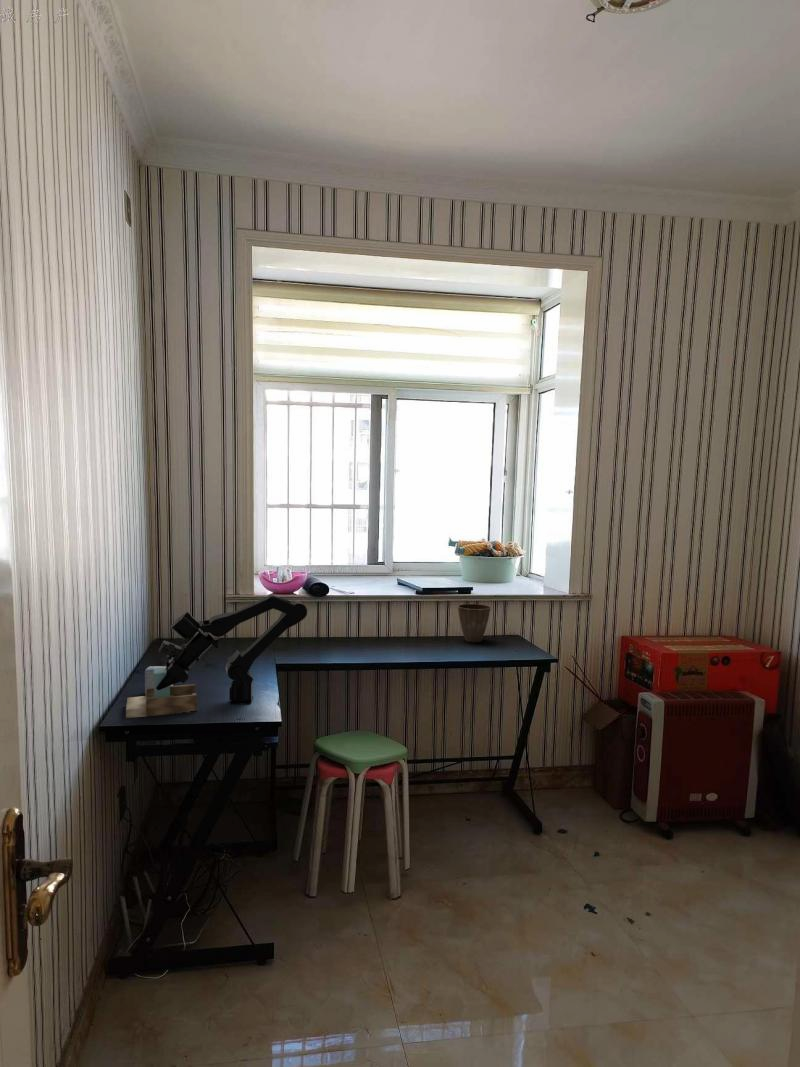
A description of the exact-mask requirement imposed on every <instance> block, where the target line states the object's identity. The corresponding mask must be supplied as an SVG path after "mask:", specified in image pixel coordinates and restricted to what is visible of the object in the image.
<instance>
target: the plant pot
mask: <svg viewBox="0 0 800 1067" xmlns="http://www.w3.org/2000/svg"><path fill="white" fill-rule="evenodd" d="M457 610H458V616H459V617H458V618H459V622H460V627H461V631H462V634H463V637H464V640H465V642H468V643H481V642H482V640H483V638H484V636H485V632H486V629H487V626H488V623H489V617H490V614H491V613H490V612H491V606H489V605H486V604H476V603H464V604H463V603H462V604H459V605H457Z"/></svg>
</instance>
